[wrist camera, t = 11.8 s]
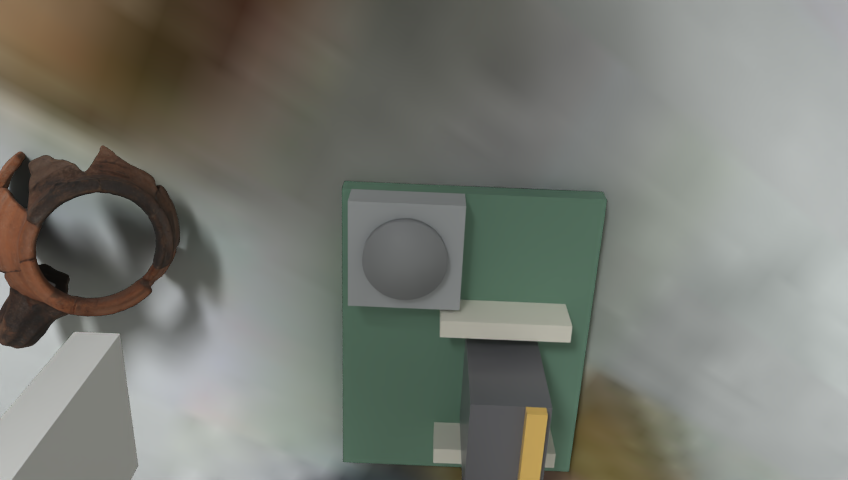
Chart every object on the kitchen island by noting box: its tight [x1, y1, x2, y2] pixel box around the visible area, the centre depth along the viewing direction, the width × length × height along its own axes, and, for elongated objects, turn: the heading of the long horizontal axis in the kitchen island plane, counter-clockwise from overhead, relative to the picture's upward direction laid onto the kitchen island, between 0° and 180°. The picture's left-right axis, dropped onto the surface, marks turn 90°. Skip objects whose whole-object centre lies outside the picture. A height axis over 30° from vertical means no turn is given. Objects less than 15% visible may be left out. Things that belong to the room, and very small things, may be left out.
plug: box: [460, 338, 552, 480], centre depth 42 cm, size 6×4×8 cm, turn 178°
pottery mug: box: [0, 146, 180, 348], centre depth 41 cm, size 12×10×8 cm
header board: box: [342, 181, 607, 472], centre depth 44 cm, size 18×14×4 cm
